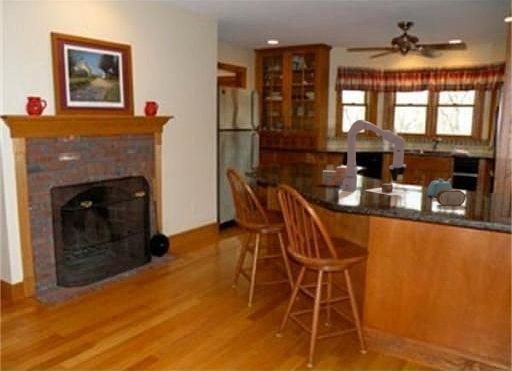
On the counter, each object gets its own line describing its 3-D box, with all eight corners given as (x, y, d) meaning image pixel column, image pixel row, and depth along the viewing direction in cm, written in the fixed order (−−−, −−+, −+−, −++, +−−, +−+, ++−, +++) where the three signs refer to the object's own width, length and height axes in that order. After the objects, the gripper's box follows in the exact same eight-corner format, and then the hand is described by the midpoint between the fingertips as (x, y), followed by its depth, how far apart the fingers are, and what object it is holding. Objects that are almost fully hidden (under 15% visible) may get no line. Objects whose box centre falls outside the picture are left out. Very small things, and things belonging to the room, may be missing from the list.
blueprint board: (410, 193, 266) (410, 192, 266) (395, 196, 256) (395, 195, 256) (379, 188, 283) (379, 187, 283) (364, 191, 273) (364, 190, 273)
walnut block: (392, 191, 269) (392, 184, 268) (388, 192, 266) (388, 185, 266) (386, 190, 273) (386, 183, 272) (381, 191, 270) (382, 184, 269)
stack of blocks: (321, 185, 294) (322, 166, 292) (323, 183, 300) (323, 165, 298) (354, 187, 288) (355, 168, 286) (355, 185, 294) (356, 167, 292)
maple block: (402, 182, 263) (402, 174, 262) (398, 182, 260) (398, 175, 259) (395, 181, 266) (396, 173, 266) (391, 181, 264) (391, 174, 263)
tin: (462, 204, 237) (464, 189, 236) (465, 206, 234) (467, 190, 233) (435, 204, 237) (436, 189, 235) (437, 205, 234) (439, 190, 232)
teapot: (460, 179, 256) (443, 181, 246) (459, 197, 258) (441, 200, 248) (441, 176, 266) (423, 178, 256) (439, 193, 268) (421, 196, 258)
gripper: (397, 159, 253) (395, 182, 256) (411, 157, 262) (409, 180, 265) (386, 157, 259) (385, 180, 261) (400, 156, 268) (399, 178, 270)
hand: (396, 180), depth 263 cm, fingers closed on maple block, 4 cm apart
